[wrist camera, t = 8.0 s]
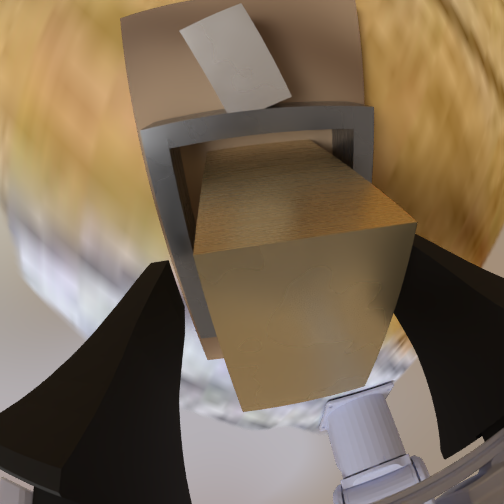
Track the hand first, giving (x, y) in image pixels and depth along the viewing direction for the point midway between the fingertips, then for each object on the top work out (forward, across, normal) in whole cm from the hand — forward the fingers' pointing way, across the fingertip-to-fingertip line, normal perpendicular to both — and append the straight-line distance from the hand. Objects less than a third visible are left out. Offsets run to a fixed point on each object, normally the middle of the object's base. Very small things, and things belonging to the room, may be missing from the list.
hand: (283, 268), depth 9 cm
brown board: (+5, 0, 0) cm, 5 cm away
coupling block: (+4, 0, 0) cm, 4 cm away
